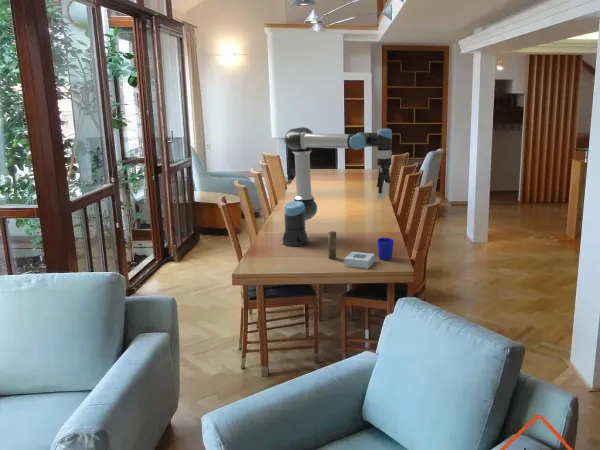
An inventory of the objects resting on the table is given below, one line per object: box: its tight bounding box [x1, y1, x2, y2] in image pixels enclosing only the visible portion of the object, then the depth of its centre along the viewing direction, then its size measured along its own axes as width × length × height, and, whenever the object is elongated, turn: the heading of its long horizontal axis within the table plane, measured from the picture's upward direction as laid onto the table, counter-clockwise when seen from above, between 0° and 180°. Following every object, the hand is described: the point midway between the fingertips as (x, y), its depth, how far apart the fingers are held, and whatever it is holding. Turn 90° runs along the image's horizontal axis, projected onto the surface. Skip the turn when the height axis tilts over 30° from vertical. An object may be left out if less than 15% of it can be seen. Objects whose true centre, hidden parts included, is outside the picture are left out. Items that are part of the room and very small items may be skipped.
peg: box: [327, 230, 337, 260], centre depth 266 cm, size 4×4×14 cm
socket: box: [344, 251, 376, 270], centre depth 257 cm, size 12×12×4 cm
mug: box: [377, 237, 395, 261], centre depth 266 cm, size 8×12×10 cm
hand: (383, 196), depth 282 cm, fingers open, 13 cm apart
